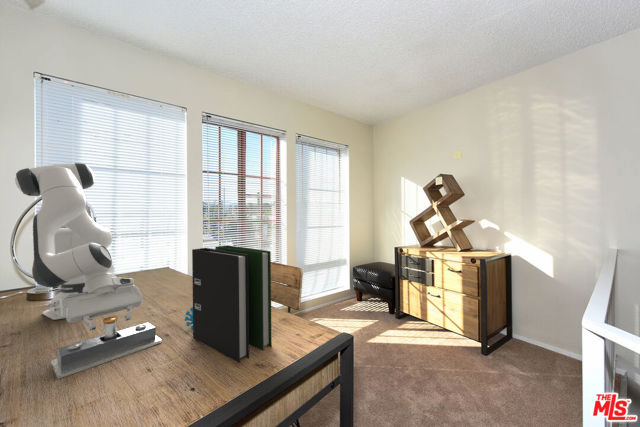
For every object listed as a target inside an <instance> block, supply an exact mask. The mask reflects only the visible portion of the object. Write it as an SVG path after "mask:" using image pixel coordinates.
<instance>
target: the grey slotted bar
mask: <svg viewBox="0 0 640 427" xmlns="http://www.w3.org/2000/svg"><path fill="white" fill-rule="evenodd" d="M156 328H157V327H156V326H154V325H153V323H150V322H144V323H141V324H137V325H134V326H130V327H127V328H123V329H120V330H117V338H115V339H112V340H109V341H105V342H104V334H102V335H99V336H96V337H92V338H89V339H85V340H82V341H78V342H76V343H71V344H68V345H65V346H61V347H57V349H56V350H57V351H56V354H57V355H56V358H55V359H52V360H51V367H52V369H53V371H54V374H55V376H56V379H57V380H59V379H62V378H65V377H69V376H71V375H73V374H77V373H79V372H82V371H86V370H88V369H90V368H94V367H96V366H99V365H102V364H105V363H108V362H111V361H114V360H115V359H116V360H117V359H118V358H121V357H124V356H128V355H131V354H133V353H136V352H139V351H142V350H144V349H147V348H151V347H152V346H153V347H154V346H155V345H158V344H162V343H163V341H162V338H160V337H159V336H157V330H156Z"/></svg>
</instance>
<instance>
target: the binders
mask: <svg viewBox="0 0 640 427" xmlns="http://www.w3.org/2000/svg"><path fill="white" fill-rule="evenodd" d="M271 254H272V252H271V251H270V250H263V249H256V248H249V247H248V248H247V247H242V246H235V245H219V246H215V247H214V248H209V247H204V248H203V247H201V248H192V250H191V258H192V259H191V262H192V263H191V264H192V271H191V272H192V278H191V279H192V307H193V324H192V326H193V330H192V335H193V336H192V337H193V339H195V340H196V341H198V342H199V343H201V344H203V345H205V346H206V347H209V348H211V349H212V350H214V351H216V352H218V353H219V354H222V355H223V356H225V357H226V358H229V359H230V360H232V361H234V362H236V363H237V364H241V358H244V357H245V358H247V359H250V346H252V347H254V348H256V349H258V350H260V351H264V348H265V346H269V347H270V348H271V347H272V346H273V345H272V343H273V342H272V268H271V267H272V263H271V262H272V261H271V257H272V256H271Z"/></svg>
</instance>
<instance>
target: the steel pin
mask: <svg viewBox="0 0 640 427" xmlns="http://www.w3.org/2000/svg"><path fill="white" fill-rule="evenodd" d="M102 321H103V322H102V323H103V326H104V327H103V329H104V330H103V335H104V342H105V341H109V340H112V339H115V338H117V331H118V326H117V324H118V322H117V321H118V316H116V315H114V316H108V317H105V318H104V319H103V320H102Z"/></svg>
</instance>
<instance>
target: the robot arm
mask: <svg viewBox="0 0 640 427" xmlns="http://www.w3.org/2000/svg"><path fill="white" fill-rule="evenodd" d="M14 180H15V181H14V182H15V185H16V187H17V188H18V189H19V191H20V192H21V193H22V194H23V195H25V196H28V197H40V196H41V199H42V203H41V207H40V209H39V211H38V212H37V213H36V214H35V215H34V216H33V220H32V246H33V261H32V262H33V263H32V268H31V273H32V277H33V280H34V281H35V283H36V284H37V285H39V286H42V287H46V288H58V287H59V292H58V293H57V294H56V295H55V296H54V297H53V298H51V299H50V301H49V303H48V308H49V309H47V310H44V311H42V315H44V316H45V317H47V318H49V319H51V320H53V321H54V320H55V321H56V320H61V319H66V322H67V323H70V324H72V323H73V324H74V323H78V322H81V321H82V324H84V325H85V326H87V327H88V331H94V330H96V329H97V323H96V321H93V322H92V321H91V320H90V319H93V318H97V317H100V316H106V315H109V314H114V313H118V312H121V311H125V310H126V312H127V313H125V314H124V317H123V318H124V321H125V322H126V321H131V320H132V314H131V313H132V310H133V308H134V309H135V308H137V307H140V306H141V305H142V303H143V301H144V298H143V295H142V292H141V290H140V289H139V288H140V287H138V285H135V280H134V278H130V277H129V278H128V277H119V276H116V274H115V273H114V272H115V267H114V264H113V260H112V257H111V253H110V251H109V250H108V248H109V247H110V246H111V244H112V242H113V234H112V233H111V231H110V230H109V229H108V228H106V227H104V226H101V225H100V224H98V222H96V221H95V220H94V219H93V218H92V217H91V216H90V214H89V213H88V210H87V209H86V208H87V200H86V195H85V193H84V191H83V190H85V189H88V188H92V187H93V185H94V184H95V174H94V172H93V170H92V169H91V168H90V166H89V165H88V164H86V163H82V162H81V163H80V162H75V163H57V164H52V165H43V166H38V167H37V166H36V167H32V168H30V167H26V168H22V169H19V170H18V171H17V172H16V173H15V178H14ZM63 226H64V227H63Z"/></svg>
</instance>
